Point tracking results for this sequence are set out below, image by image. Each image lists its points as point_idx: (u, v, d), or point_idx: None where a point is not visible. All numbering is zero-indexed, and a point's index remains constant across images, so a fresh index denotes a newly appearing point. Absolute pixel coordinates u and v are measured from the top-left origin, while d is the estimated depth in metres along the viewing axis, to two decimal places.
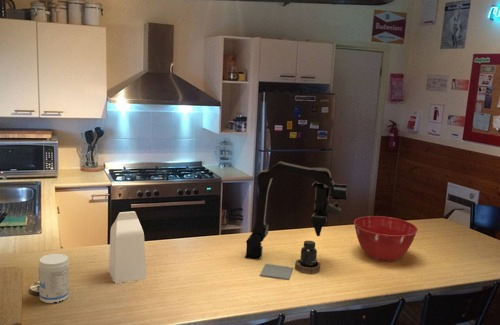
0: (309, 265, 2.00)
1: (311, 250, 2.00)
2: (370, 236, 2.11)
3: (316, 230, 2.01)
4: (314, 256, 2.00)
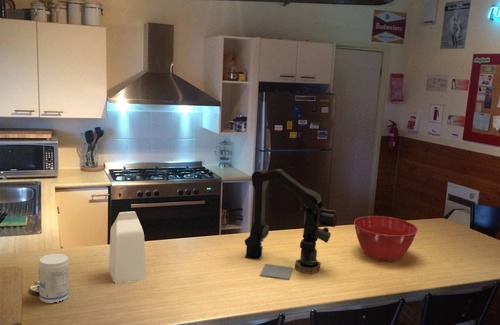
0: (309, 265, 2.00)
1: None
2: (370, 236, 2.11)
3: (305, 255, 1.99)
4: (314, 256, 2.00)
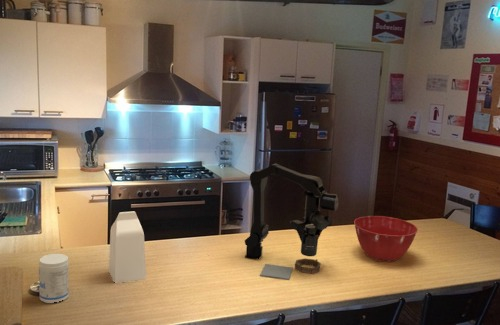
0: (304, 249, 2.00)
1: (307, 234, 1.99)
2: (370, 236, 2.11)
3: (300, 237, 2.00)
4: (310, 241, 1.98)
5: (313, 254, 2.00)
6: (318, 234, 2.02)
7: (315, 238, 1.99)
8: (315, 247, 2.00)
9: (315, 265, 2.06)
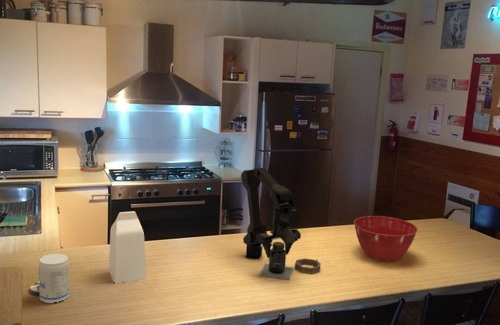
0: (271, 266, 1.96)
1: (275, 251, 1.95)
2: (370, 236, 2.11)
3: (265, 251, 1.95)
4: (277, 258, 1.94)
5: (281, 271, 1.96)
6: (289, 247, 1.99)
7: (282, 255, 1.94)
8: (283, 264, 1.96)
9: (315, 265, 2.06)
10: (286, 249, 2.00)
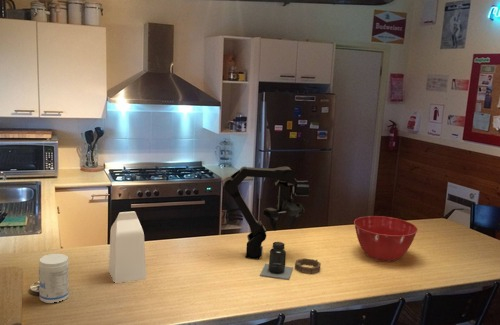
0: (271, 266, 1.96)
1: (275, 251, 1.95)
2: (370, 236, 2.11)
3: (272, 224, 2.11)
4: (277, 258, 1.94)
5: (281, 271, 1.96)
6: (293, 221, 2.15)
7: (282, 255, 1.95)
8: (283, 264, 1.96)
9: (315, 265, 2.06)
10: (290, 223, 2.16)
